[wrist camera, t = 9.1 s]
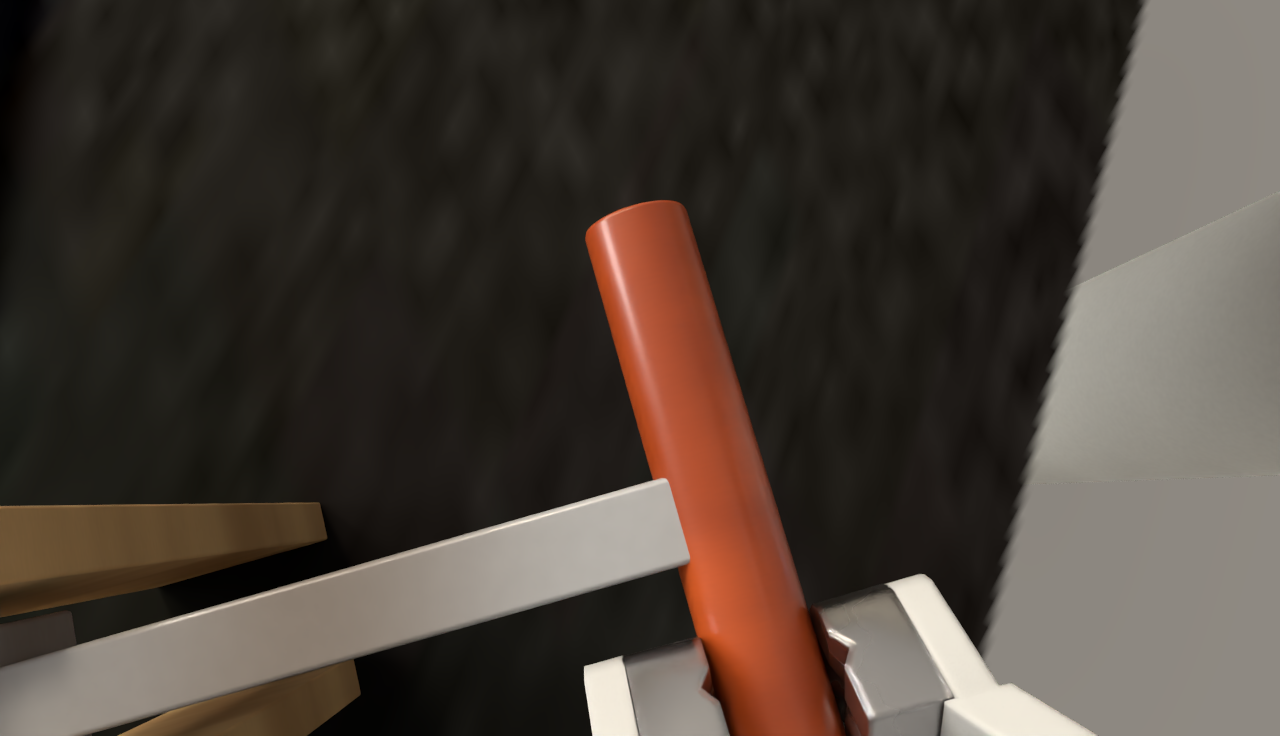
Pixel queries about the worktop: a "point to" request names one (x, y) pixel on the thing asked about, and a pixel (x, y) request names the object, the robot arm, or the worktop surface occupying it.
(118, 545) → the bracket
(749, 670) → the lever
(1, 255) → the worktop surface
